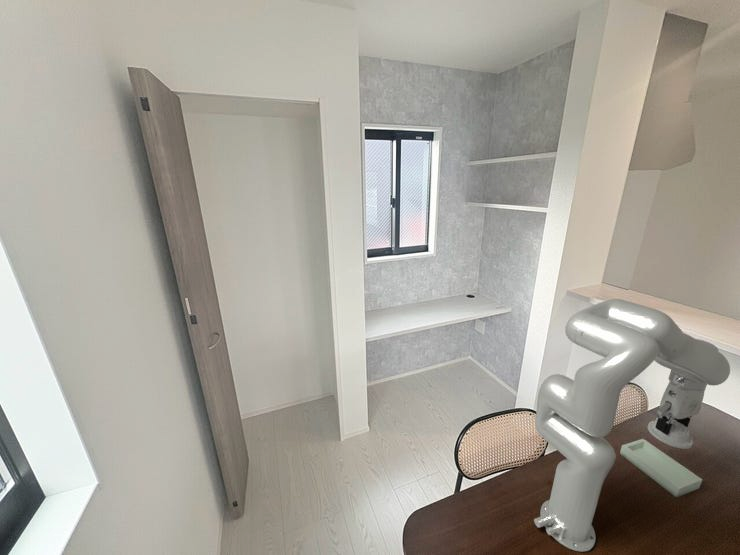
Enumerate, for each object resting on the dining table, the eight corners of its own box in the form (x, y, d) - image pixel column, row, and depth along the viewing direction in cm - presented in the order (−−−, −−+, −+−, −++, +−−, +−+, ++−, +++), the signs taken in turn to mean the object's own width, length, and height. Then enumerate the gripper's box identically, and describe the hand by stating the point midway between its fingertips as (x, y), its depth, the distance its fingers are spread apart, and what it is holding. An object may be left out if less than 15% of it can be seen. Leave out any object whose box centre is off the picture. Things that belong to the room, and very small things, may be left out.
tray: (676, 497, 88) (679, 488, 87) (619, 453, 102) (622, 445, 101) (699, 488, 90) (702, 479, 89) (640, 446, 105) (643, 438, 104)
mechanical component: (661, 446, 88) (701, 452, 86) (665, 435, 87) (706, 440, 85) (639, 422, 98) (675, 426, 96) (643, 411, 96) (679, 415, 94)
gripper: (683, 393, 81) (665, 444, 86) (724, 382, 85) (705, 431, 90) (651, 377, 88) (637, 425, 93) (691, 367, 92) (675, 414, 97)
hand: (671, 428), depth 91 cm, fingers closed on mechanical component, 7 cm apart
